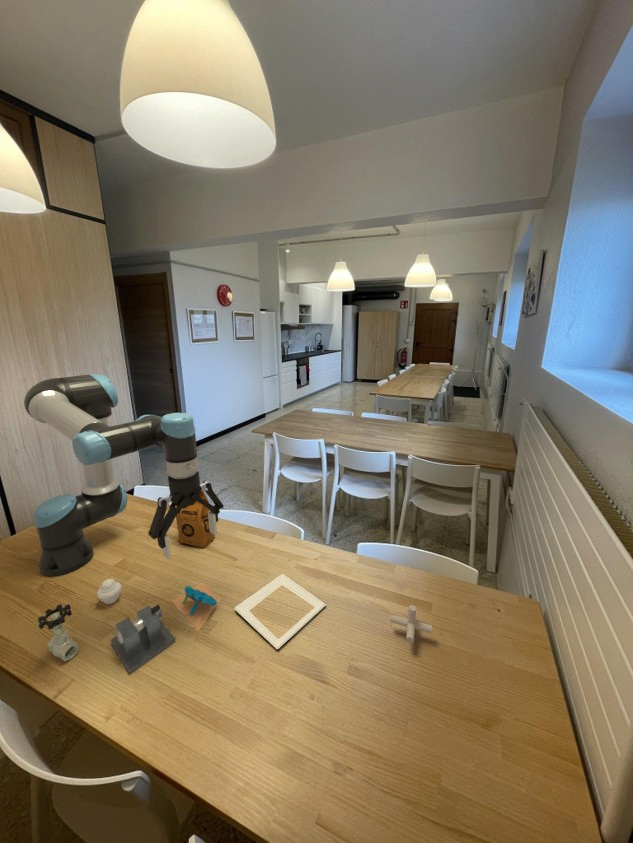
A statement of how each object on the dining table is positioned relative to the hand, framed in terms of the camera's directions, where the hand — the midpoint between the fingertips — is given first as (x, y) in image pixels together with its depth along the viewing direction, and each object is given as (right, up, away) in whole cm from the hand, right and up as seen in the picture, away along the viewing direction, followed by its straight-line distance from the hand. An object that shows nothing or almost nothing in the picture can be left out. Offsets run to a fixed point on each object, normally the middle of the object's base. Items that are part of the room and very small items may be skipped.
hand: (191, 544), depth 91 cm
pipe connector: (+59, -23, -5) cm, 63 cm away
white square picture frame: (+24, -21, +4) cm, 32 cm away
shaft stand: (-10, -23, -6) cm, 26 cm away
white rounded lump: (-27, -20, +7) cm, 34 cm away
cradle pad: (+1, -20, +6) cm, 21 cm away
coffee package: (-11, -12, +35) cm, 39 cm away
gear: (+2, -21, +7) cm, 22 cm away
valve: (-28, -24, -9) cm, 38 cm away
